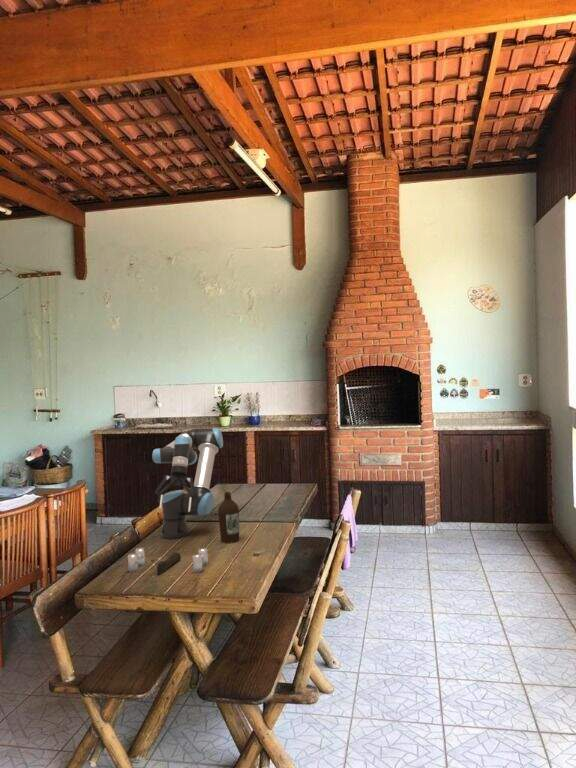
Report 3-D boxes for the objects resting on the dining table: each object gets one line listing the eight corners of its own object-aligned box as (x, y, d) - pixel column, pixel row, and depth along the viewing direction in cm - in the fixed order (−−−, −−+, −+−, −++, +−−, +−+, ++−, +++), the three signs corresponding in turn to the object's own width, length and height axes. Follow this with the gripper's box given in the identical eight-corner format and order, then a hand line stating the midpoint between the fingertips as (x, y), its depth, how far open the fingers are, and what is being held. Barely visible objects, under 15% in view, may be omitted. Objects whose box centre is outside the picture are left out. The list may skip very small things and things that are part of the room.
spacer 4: (200, 562, 261) (199, 547, 260) (209, 562, 260) (208, 547, 260) (197, 565, 257) (197, 550, 256) (206, 566, 256) (205, 550, 256)
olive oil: (216, 540, 294) (213, 491, 293) (234, 535, 300) (231, 488, 299) (225, 544, 285) (222, 495, 284) (244, 540, 291) (241, 491, 290)
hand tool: (173, 560, 267) (172, 550, 266) (181, 560, 265) (180, 550, 265) (152, 575, 249) (151, 564, 248) (160, 576, 247) (159, 565, 247)
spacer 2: (138, 562, 265) (137, 547, 265) (146, 562, 265) (145, 547, 265) (134, 565, 262) (133, 550, 261) (143, 565, 261) (142, 550, 261)
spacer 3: (195, 569, 253) (194, 553, 252) (203, 569, 252) (202, 553, 252) (192, 572, 249) (191, 556, 249) (201, 572, 248) (200, 556, 248)
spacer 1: (131, 568, 258) (130, 553, 257) (139, 568, 257) (138, 553, 257) (127, 572, 254) (126, 556, 253) (135, 572, 253) (134, 556, 253)
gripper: (154, 462, 275) (148, 505, 265) (205, 467, 280) (201, 510, 271) (153, 466, 281) (147, 509, 272) (204, 471, 287) (200, 514, 277)
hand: (174, 510), depth 271 cm, fingers open, 13 cm apart
